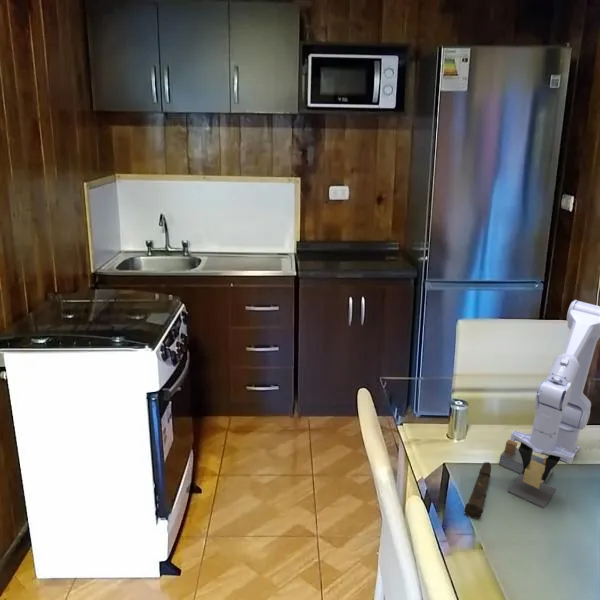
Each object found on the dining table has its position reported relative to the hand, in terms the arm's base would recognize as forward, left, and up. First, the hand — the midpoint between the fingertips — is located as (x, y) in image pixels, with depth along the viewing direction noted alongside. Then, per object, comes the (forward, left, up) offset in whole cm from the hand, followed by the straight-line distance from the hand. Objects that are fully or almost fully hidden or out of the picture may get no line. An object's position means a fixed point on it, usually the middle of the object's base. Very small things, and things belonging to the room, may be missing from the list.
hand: (535, 474), depth 149 cm
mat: (0, 0, -5) cm, 5 cm away
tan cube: (0, 0, -2) cm, 2 cm away
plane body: (-8, -4, -5) cm, 10 cm away
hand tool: (+10, -10, -5) cm, 15 cm away
